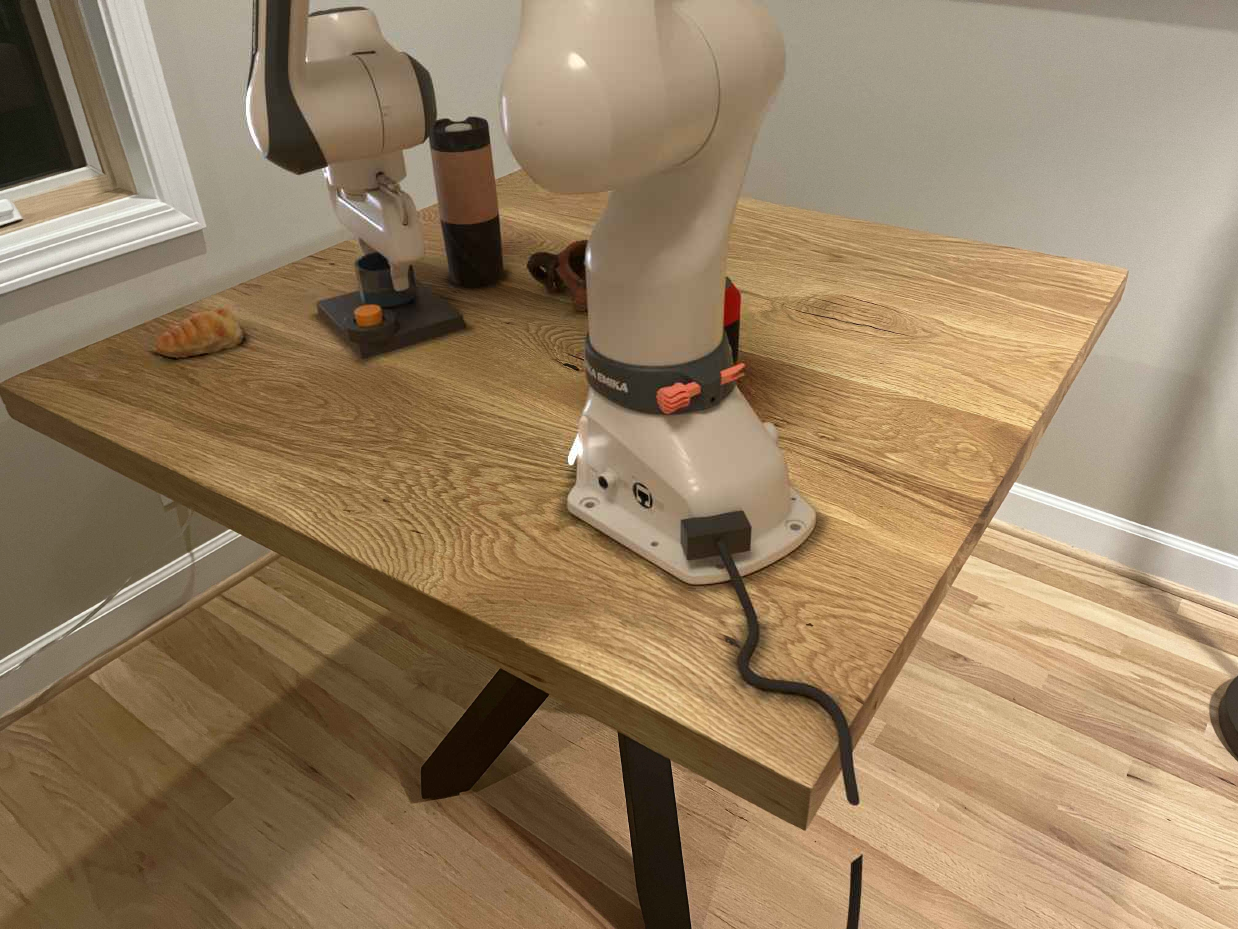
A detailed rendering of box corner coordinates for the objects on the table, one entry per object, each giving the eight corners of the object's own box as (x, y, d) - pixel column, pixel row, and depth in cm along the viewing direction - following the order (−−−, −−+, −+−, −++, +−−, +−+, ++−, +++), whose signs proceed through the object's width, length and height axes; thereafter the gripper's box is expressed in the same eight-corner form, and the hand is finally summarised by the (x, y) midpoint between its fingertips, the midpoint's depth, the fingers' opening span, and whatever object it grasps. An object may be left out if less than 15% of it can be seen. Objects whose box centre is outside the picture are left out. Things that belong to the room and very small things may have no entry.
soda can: (677, 412, 91) (678, 303, 85) (655, 377, 97) (654, 273, 91) (747, 400, 93) (753, 292, 86) (721, 367, 99) (725, 263, 92)
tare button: (387, 323, 104) (384, 310, 103) (362, 330, 102) (359, 317, 101) (377, 314, 106) (375, 301, 105) (353, 321, 104) (350, 308, 104)
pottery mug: (615, 281, 120) (629, 239, 113) (609, 338, 116) (623, 298, 109) (526, 262, 119) (534, 219, 111) (517, 320, 114) (525, 278, 107)
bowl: (426, 300, 111) (420, 262, 109) (374, 315, 108) (366, 276, 106) (404, 283, 116) (398, 246, 113) (354, 296, 113) (346, 258, 110)
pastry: (168, 368, 103) (157, 338, 101) (152, 348, 107) (141, 319, 105) (249, 343, 108) (241, 313, 105) (230, 325, 112) (221, 296, 110)
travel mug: (477, 292, 117) (457, 134, 106) (437, 280, 121) (413, 126, 110) (517, 273, 122) (501, 120, 111) (477, 261, 126) (458, 113, 115)
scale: (466, 330, 108) (463, 303, 106) (360, 363, 102) (354, 335, 100) (414, 289, 119) (410, 264, 117) (315, 316, 113) (309, 290, 111)
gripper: (428, 179, 97) (446, 298, 105) (359, 140, 111) (380, 248, 119) (373, 191, 94) (396, 313, 102) (309, 150, 108) (333, 259, 116)
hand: (386, 277), depth 111 cm, fingers closed on bowl, 7 cm apart
